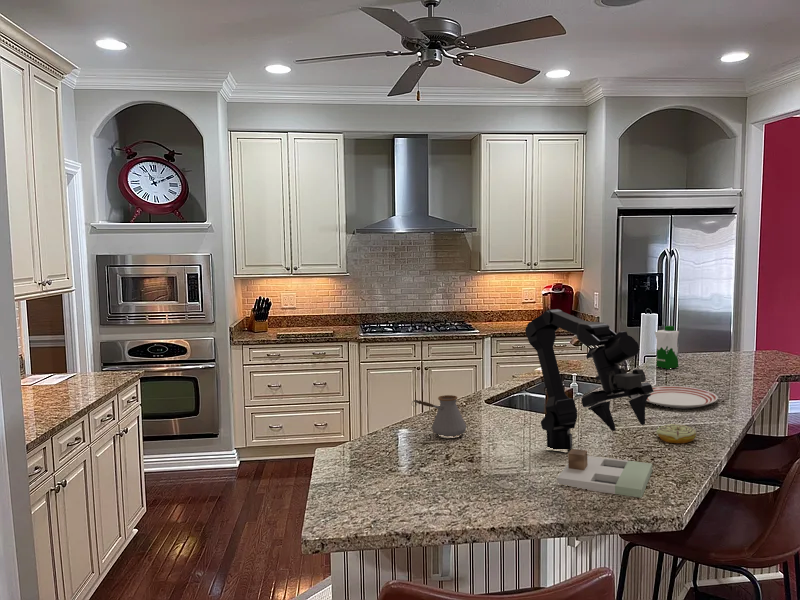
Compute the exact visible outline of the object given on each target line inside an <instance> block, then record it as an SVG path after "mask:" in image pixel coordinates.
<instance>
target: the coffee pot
mask: <svg viewBox="0 0 800 600" xmlns="http://www.w3.org/2000/svg"><path fill="white" fill-rule="evenodd" d="M437 399H438V400H439V403H440V404H439V405H435V404H432V403H429V402H427V401H421V400H420V399H419V400H417V399H414V400H413V401H412V402H411V406H413V407H414V405H413V403H414V402H415V403H416V404H415V406H418V405H422V406H425V407H429V408H434V409H437V412H436V413H435V414H436V415H435V417H434V420H433V423H432V425H431V426H432V427H431V430H432V432H433V433H434V434H435V433H436V434H439V435H444V436H456V435H460V434H462V435H463V434H464V433H465V432H466V429H467V424H466V421H465V420H464V417H463V416H462V414H461V413H462V412H461V411H460V410H459V407H458V405H457V400H458V396H457V395H453V394H451V395H450V394H447V395H440V396H438V397H437ZM436 434H435V435H436Z"/></svg>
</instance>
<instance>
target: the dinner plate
mask: <svg viewBox="0 0 800 600" xmlns="http://www.w3.org/2000/svg"><path fill="white" fill-rule="evenodd" d="M652 388H653V390H654V392H652V393H650V394H651V396H649V397H648V398H647V400H646V403H647V402H648V403H650V404H653V405H655V404H656V405H655V406H658V405H660V406H659V407H662V406H664V407H663V408H668V407H670V408H671V409H696V408H700V407H705V406H708V405H711V404H713V403H715V402H717V400H718V398H719V397H718V395H717V394H715V393H713V392H712V391H708V390H707V389H706V390H705V389H701V388H697V387H696V388H695V387H690V386H683V385H681V386H680V385H679V386H677V385H661V386H652ZM670 408H669V409H670Z"/></svg>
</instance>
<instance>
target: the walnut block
mask: <svg viewBox="0 0 800 600" xmlns="http://www.w3.org/2000/svg"><path fill="white" fill-rule="evenodd" d="M587 456H588V450H586V449H585V450H583V449H578V448H577V449H575V448H571V449H570V450H569V451H568V452H567V458H568V459H567V461H568V462H567V464H568V466H569V468H570V469H577V470H585V468H586V467H587V465H588V463H587Z"/></svg>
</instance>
